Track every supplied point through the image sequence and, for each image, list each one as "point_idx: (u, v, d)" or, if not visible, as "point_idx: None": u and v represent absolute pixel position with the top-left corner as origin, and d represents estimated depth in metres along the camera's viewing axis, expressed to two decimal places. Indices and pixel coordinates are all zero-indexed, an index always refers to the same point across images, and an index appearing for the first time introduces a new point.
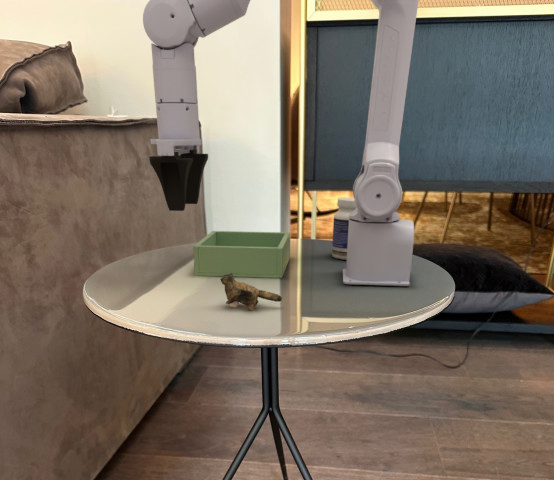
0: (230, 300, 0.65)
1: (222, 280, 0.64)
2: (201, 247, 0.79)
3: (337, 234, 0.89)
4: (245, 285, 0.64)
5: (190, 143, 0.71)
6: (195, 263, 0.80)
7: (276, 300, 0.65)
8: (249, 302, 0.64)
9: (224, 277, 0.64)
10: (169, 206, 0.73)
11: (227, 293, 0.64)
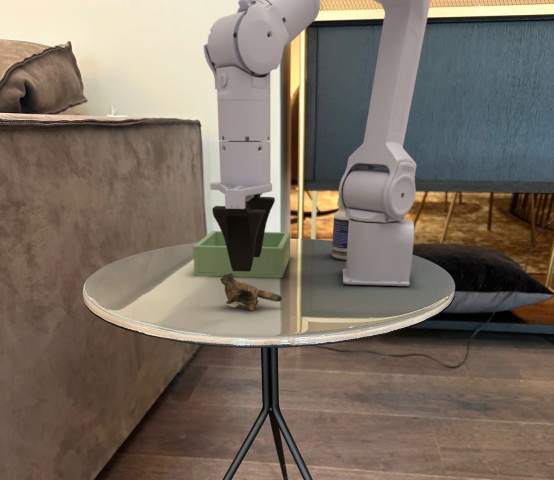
0: (230, 300, 0.65)
1: (222, 280, 0.64)
2: (201, 247, 0.79)
3: (337, 234, 0.89)
4: (245, 285, 0.64)
5: (262, 190, 0.57)
6: (195, 263, 0.80)
7: (276, 300, 0.65)
8: (249, 302, 0.64)
9: (224, 277, 0.64)
10: (233, 266, 0.60)
11: (227, 293, 0.64)
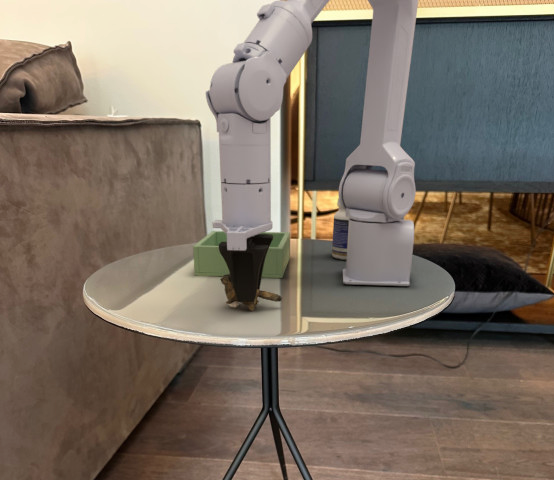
0: (230, 300, 0.65)
1: (222, 280, 0.64)
2: (201, 247, 0.79)
3: (337, 234, 0.89)
4: None
5: (262, 230, 0.59)
6: (195, 263, 0.80)
7: (276, 300, 0.65)
8: (249, 302, 0.64)
9: (224, 277, 0.64)
10: (238, 297, 0.63)
11: (227, 293, 0.64)
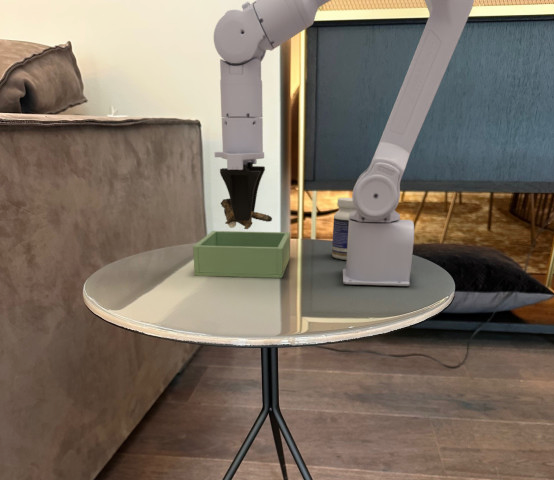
0: (229, 220, 0.78)
1: (222, 203, 0.77)
2: (201, 247, 0.79)
3: (337, 234, 0.89)
4: None
5: (256, 156, 0.72)
6: (195, 263, 0.80)
7: (267, 220, 0.78)
8: (244, 221, 0.77)
9: (224, 200, 0.77)
10: (236, 216, 0.76)
11: (226, 214, 0.77)
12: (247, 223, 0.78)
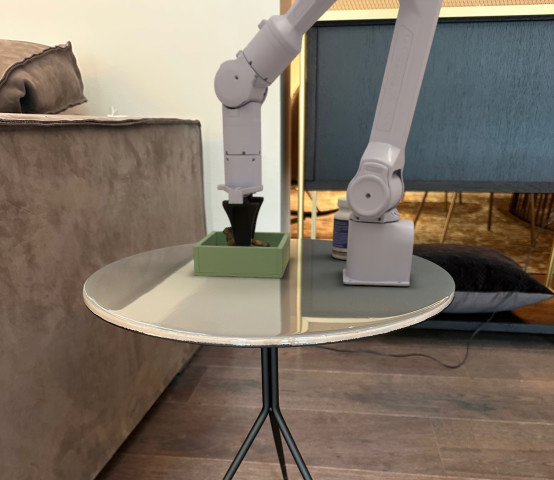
0: None
1: (224, 231, 0.84)
2: (201, 247, 0.79)
3: (337, 234, 0.89)
4: None
5: (255, 190, 0.79)
6: (195, 263, 0.80)
7: None
8: None
9: (225, 229, 0.83)
10: (236, 243, 0.83)
11: (228, 241, 0.84)
12: None
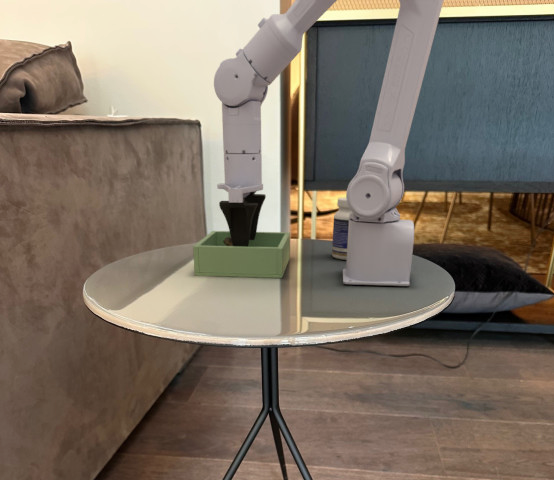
0: None
1: (224, 241, 0.84)
2: (201, 247, 0.79)
3: (337, 234, 0.89)
4: None
5: (255, 189, 0.78)
6: (195, 263, 0.80)
7: None
8: None
9: (226, 239, 0.84)
10: (234, 245, 0.81)
11: None
12: None
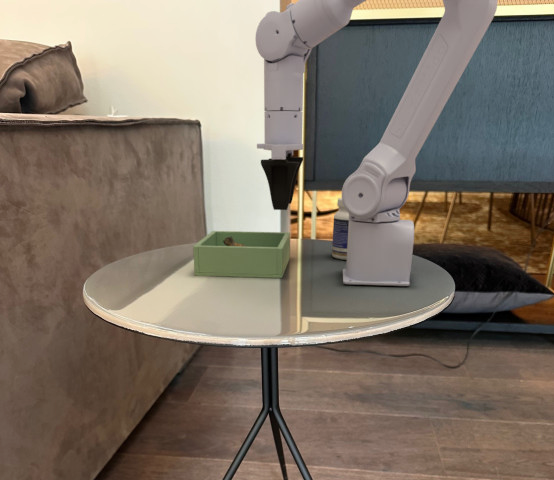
0: None
1: (224, 241, 0.84)
2: (201, 247, 0.79)
3: (337, 234, 0.89)
4: (242, 245, 0.84)
5: (296, 147, 0.77)
6: (195, 263, 0.80)
7: None
8: None
9: (226, 239, 0.84)
10: (274, 205, 0.80)
11: None
12: None
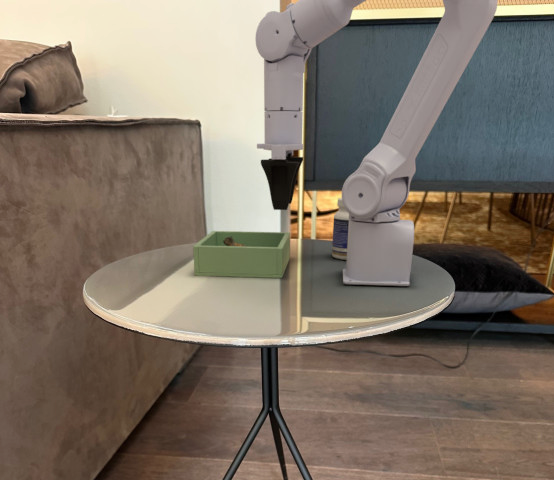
0: None
1: (224, 241, 0.84)
2: (201, 247, 0.79)
3: (337, 234, 0.89)
4: (242, 245, 0.84)
5: (296, 147, 0.77)
6: (195, 263, 0.80)
7: None
8: None
9: (226, 239, 0.84)
10: (274, 205, 0.80)
11: None
12: None
